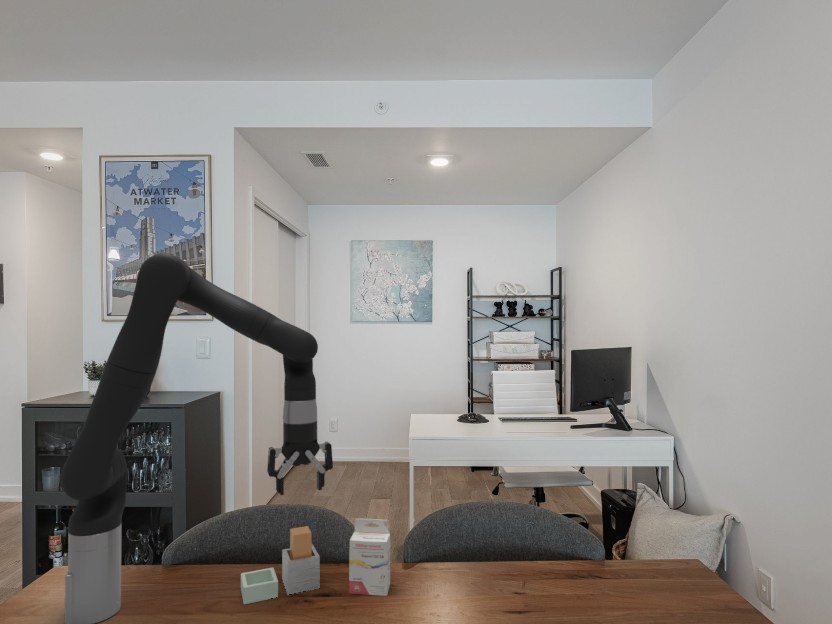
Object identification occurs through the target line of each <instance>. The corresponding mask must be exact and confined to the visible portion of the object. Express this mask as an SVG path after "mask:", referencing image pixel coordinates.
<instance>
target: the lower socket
mask: <svg viewBox="0 0 832 624" xmlns="http://www.w3.org/2000/svg"><path fill="white" fill-rule="evenodd" d="M240 593H241V597H242V602H243V605H248V604H253V603H257V602H263V601H267V600H272V599H271V598H273V599H277V598H279V580H278V577H277V574H276V571H275V569H274V567H269V568H263V569H256V570H252V571H245V572H242V573H240ZM276 597H277V598H276Z"/></svg>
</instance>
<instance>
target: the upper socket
mask: <svg viewBox="0 0 832 624" xmlns="http://www.w3.org/2000/svg"><path fill="white" fill-rule="evenodd" d="M281 557H282V560H281V561H282V562H281V563H282V564H281V566H282V567H281V570H282V571H281V576H282V577H281V579H282V580H283V581H282V580H281V581H282V583H284V584H283V586H285V587H284V589H286V590H285V593H286V595H287V596H290V595H289V594H292V595H295V594H294V593H296V594H299V593H298V592H301V593H304V592H303V591H306V592H310V590H311V591H315V590H314V589H316V590H320V589H319V588H321V585H320V584H321V578H320V576H321V572H320V567H321V565H320V564H321V562H320V559H321V558H320V554H319V553H318V551H317V550H316V548H315V546H314V544H313V543H312V556H311V557H306V558H300V559H295V560H290V547H289V548H283V549H282V550H281ZM308 590H309V591H308Z"/></svg>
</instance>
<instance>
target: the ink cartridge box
mask: <svg viewBox="0 0 832 624" xmlns="http://www.w3.org/2000/svg"><path fill="white" fill-rule="evenodd" d="M370 524H373V525H377V526H367V525H370ZM351 535H352V536H351V537H350V539H349V553H348V555H349V558H348V561H349V562H348V563H349V565H348V567H349V568H348V585H349V586H348V594H350V595H351V594H352V595H366V596H367V595H368V596H383V597H384V596H388V594H389V590H390V586H391V533H390V520H389V519H377V518H375V519H374V518H354V532H353V533H352V534H351Z"/></svg>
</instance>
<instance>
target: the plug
mask: <svg viewBox="0 0 832 624" xmlns="http://www.w3.org/2000/svg"><path fill="white" fill-rule="evenodd" d="M312 536H313V534H312V531H311V529H310V527H309V526H308V525H306V526H301V527H293V528H290V529H289V543H290V544H289V548H290V560H295V559H300V558H306V557H311V556H312V544H313V543H312V542H313V541H312V538H313V537H312Z"/></svg>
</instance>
